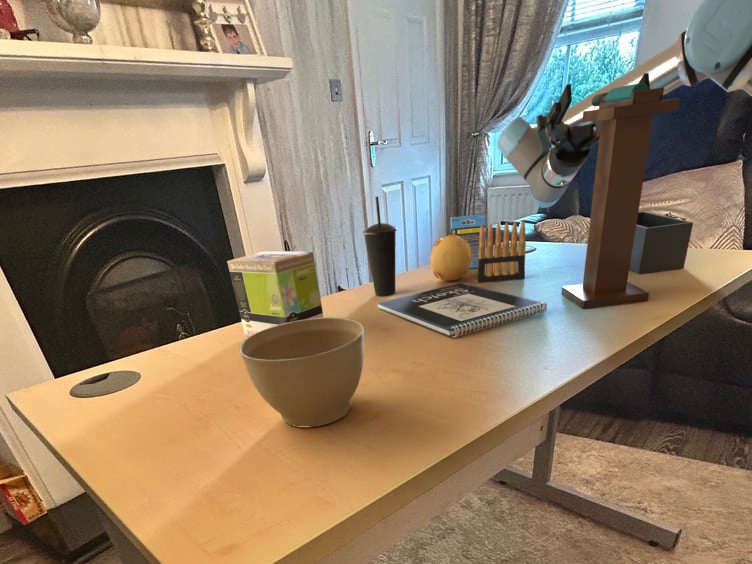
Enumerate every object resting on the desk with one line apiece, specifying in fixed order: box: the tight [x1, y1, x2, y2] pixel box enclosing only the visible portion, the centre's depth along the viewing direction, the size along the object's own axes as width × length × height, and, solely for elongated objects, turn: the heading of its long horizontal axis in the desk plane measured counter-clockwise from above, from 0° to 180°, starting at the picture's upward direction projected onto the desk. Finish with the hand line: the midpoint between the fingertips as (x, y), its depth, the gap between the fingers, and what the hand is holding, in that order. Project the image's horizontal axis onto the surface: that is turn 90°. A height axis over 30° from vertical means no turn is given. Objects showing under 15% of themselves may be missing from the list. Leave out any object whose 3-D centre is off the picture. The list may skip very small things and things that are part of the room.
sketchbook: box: [376, 282, 548, 339], centre depth 107 cm, size 22×30×2 cm
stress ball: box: [429, 234, 472, 282], centre depth 126 cm, size 10×10×10 cm
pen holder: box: [629, 210, 694, 275], centre depth 120 cm, size 22×10×9 cm, turn 2°
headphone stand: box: [561, 87, 681, 310], centre depth 94 cm, size 13×12×32 cm
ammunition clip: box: [477, 220, 527, 284], centre depth 120 cm, size 11×2×12 cm, turn 79°
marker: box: [592, 83, 648, 107], centre depth 89 cm, size 18×3×3 cm, turn 2°
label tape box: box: [449, 213, 487, 270], centre depth 134 cm, size 9×4×12 cm, turn 79°
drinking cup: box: [362, 196, 398, 297], centre depth 120 cm, size 8×8×20 cm
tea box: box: [226, 250, 325, 335], centre depth 104 cm, size 15×10×15 cm
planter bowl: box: [238, 316, 365, 428], centre depth 71 cm, size 16×16×11 cm
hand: (608, 86), depth 91 cm, fingers open, 13 cm apart
